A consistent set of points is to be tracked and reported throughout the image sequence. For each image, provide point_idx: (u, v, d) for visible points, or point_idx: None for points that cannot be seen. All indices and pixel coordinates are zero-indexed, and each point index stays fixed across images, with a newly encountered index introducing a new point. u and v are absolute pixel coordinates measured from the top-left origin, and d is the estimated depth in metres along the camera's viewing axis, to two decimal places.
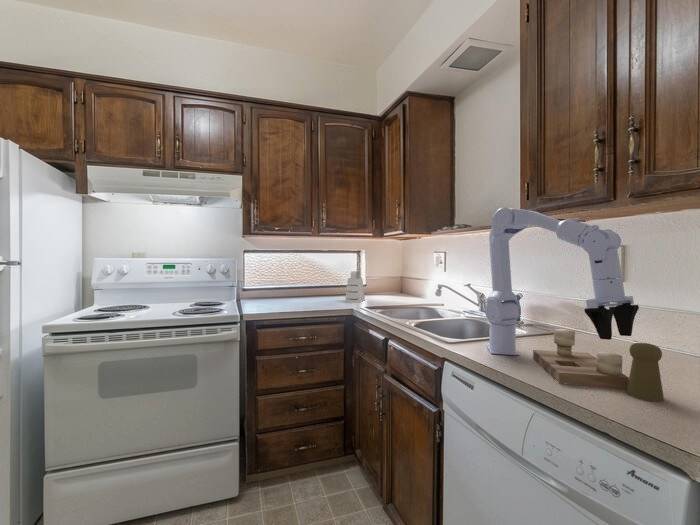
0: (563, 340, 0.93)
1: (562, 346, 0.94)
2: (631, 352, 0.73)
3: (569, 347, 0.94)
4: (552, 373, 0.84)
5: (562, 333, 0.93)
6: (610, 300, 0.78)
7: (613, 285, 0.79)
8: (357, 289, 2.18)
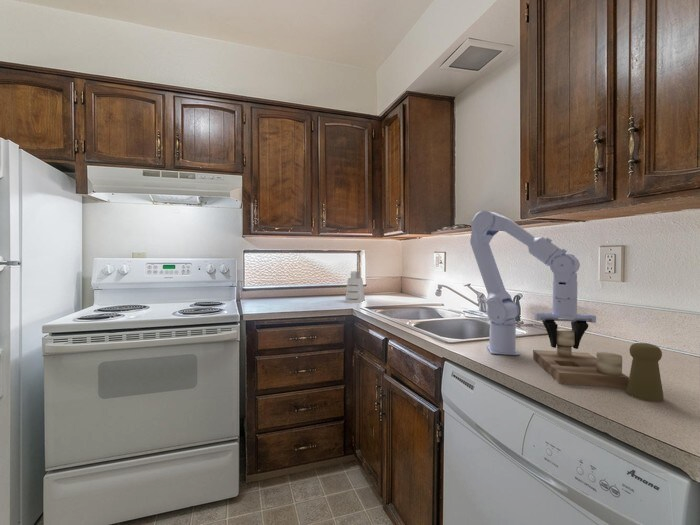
0: (563, 340, 0.93)
1: (562, 346, 0.94)
2: (631, 352, 0.73)
3: (569, 347, 0.94)
4: (552, 373, 0.84)
5: (562, 333, 0.93)
6: (553, 316, 0.94)
7: (560, 304, 0.93)
8: (357, 289, 2.18)
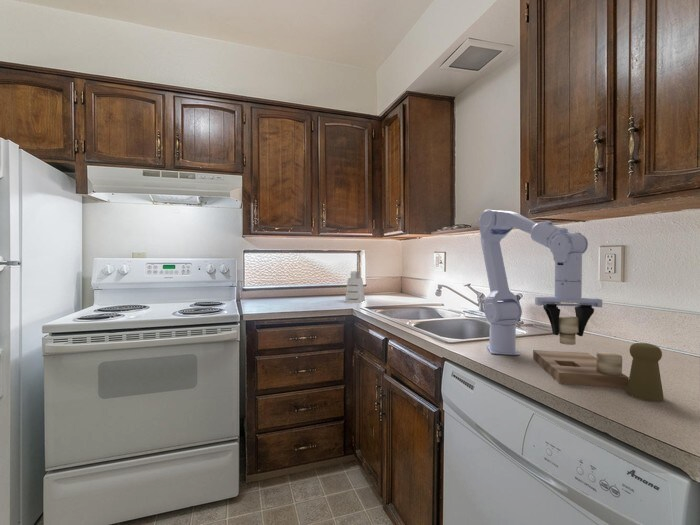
0: (565, 327, 0.85)
1: (565, 334, 0.86)
2: (631, 352, 0.73)
3: (572, 335, 0.85)
4: (552, 373, 0.84)
5: (564, 319, 0.85)
6: (555, 300, 0.86)
7: (563, 287, 0.85)
8: (357, 289, 2.18)
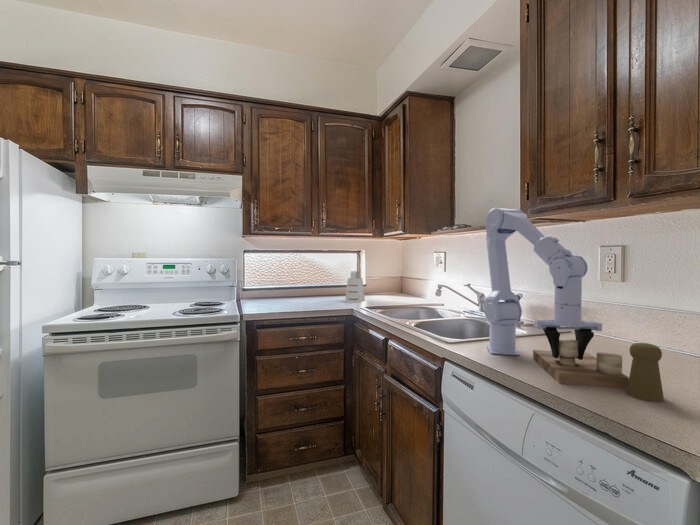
0: (565, 350, 0.85)
1: (564, 357, 0.86)
2: (631, 352, 0.73)
3: (572, 358, 0.85)
4: (552, 373, 0.84)
5: (563, 343, 0.85)
6: (555, 324, 0.86)
7: (563, 310, 0.85)
8: (357, 289, 2.18)
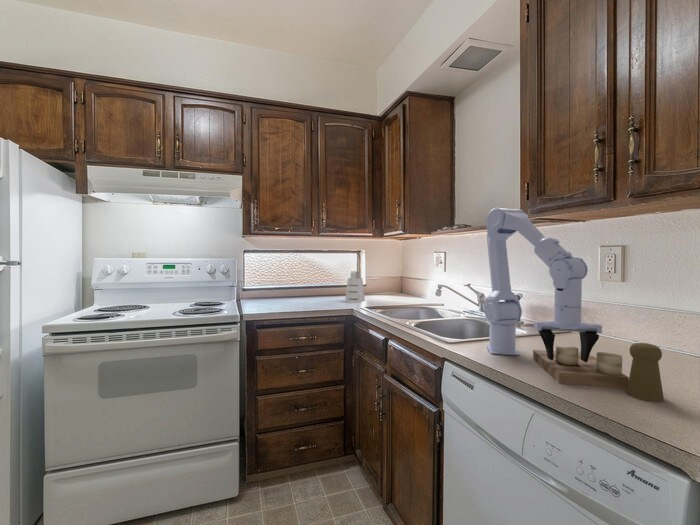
0: (565, 358, 0.85)
1: (564, 364, 0.86)
2: (631, 352, 0.73)
3: None
4: (552, 373, 0.84)
5: (564, 350, 0.85)
6: (555, 326, 0.86)
7: (563, 312, 0.85)
8: (357, 289, 2.18)
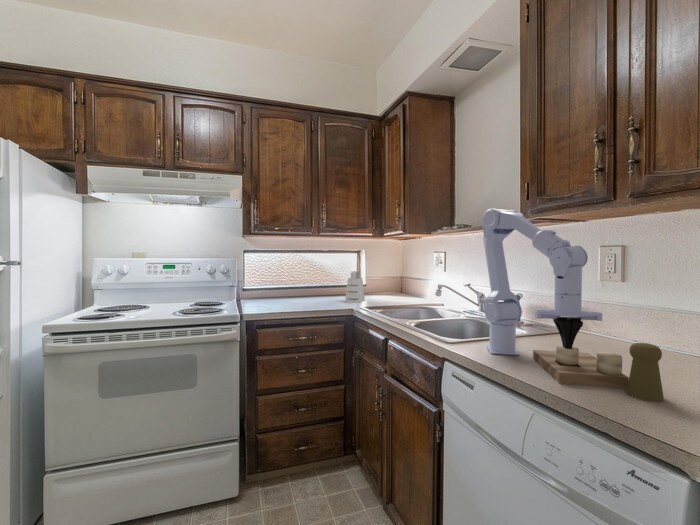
0: (566, 358, 0.85)
1: (564, 364, 0.86)
2: (631, 352, 0.73)
3: None
4: (552, 373, 0.84)
5: (564, 350, 0.85)
6: (555, 314, 0.86)
7: (563, 300, 0.85)
8: (357, 289, 2.18)
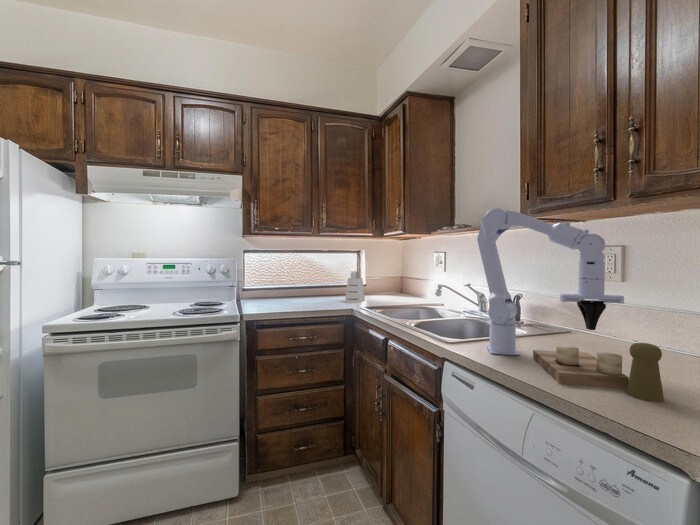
0: (566, 358, 0.85)
1: (564, 364, 0.86)
2: (631, 352, 0.73)
3: None
4: (552, 373, 0.84)
5: (564, 350, 0.85)
6: (580, 297, 0.92)
7: (587, 284, 0.91)
8: (357, 289, 2.18)
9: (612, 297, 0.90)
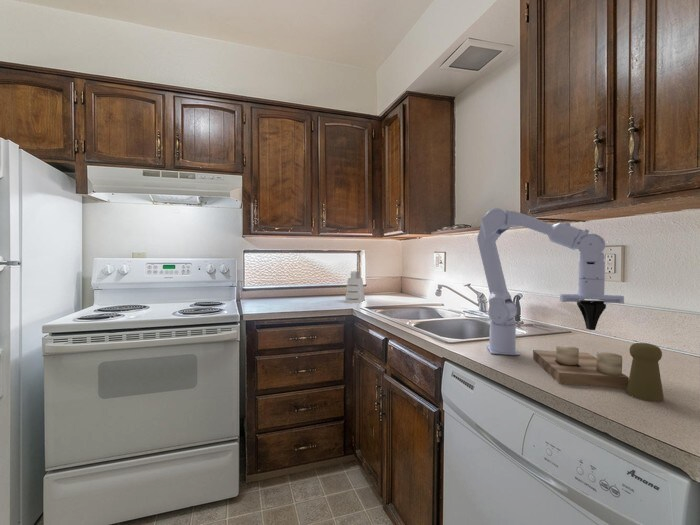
0: (566, 358, 0.85)
1: (564, 364, 0.86)
2: (631, 352, 0.73)
3: None
4: (552, 373, 0.84)
5: (564, 350, 0.85)
6: (580, 297, 0.92)
7: (587, 284, 0.91)
8: (357, 289, 2.18)
9: (612, 297, 0.90)
